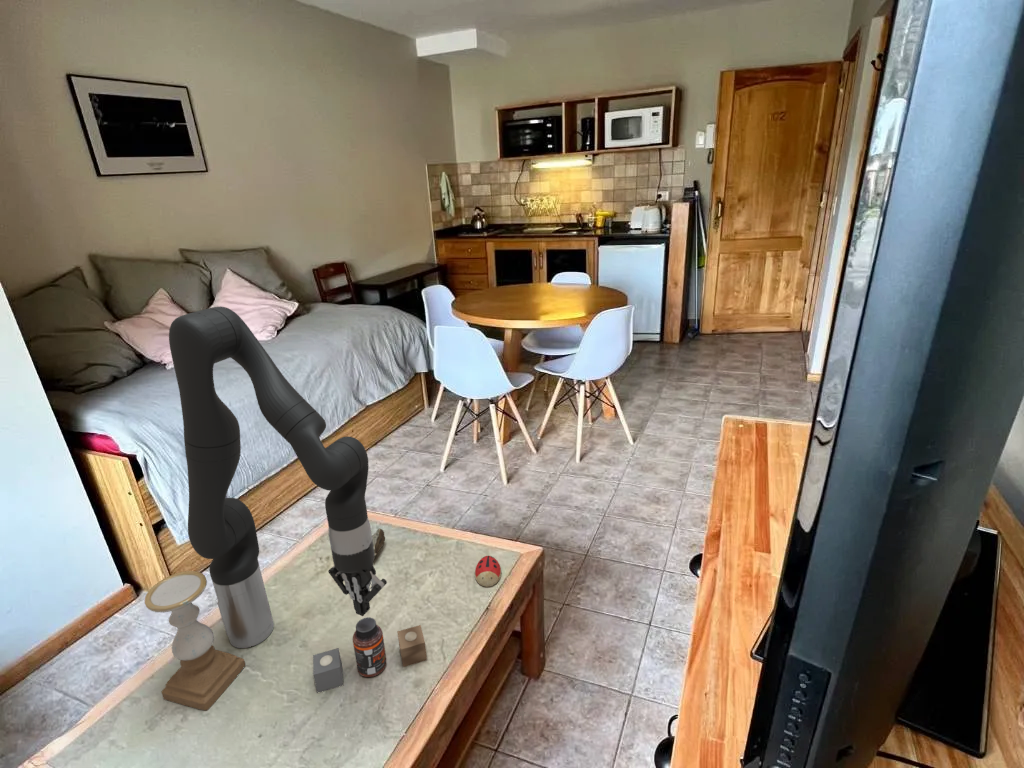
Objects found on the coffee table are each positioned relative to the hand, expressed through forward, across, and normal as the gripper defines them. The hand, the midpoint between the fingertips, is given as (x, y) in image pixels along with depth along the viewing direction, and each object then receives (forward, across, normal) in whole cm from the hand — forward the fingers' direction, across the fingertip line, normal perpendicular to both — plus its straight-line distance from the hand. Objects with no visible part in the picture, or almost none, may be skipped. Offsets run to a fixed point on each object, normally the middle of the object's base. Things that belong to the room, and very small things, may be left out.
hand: (362, 612), depth 107 cm
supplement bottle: (+15, 0, 0) cm, 15 cm away
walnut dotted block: (+15, +6, +6) cm, 17 cm away
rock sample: (+15, -24, +28) cm, 40 cm away
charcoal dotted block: (+15, -6, -6) cm, 17 cm away
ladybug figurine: (+15, +9, +34) cm, 39 cm away
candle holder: (+15, -29, -17) cm, 37 cm away
